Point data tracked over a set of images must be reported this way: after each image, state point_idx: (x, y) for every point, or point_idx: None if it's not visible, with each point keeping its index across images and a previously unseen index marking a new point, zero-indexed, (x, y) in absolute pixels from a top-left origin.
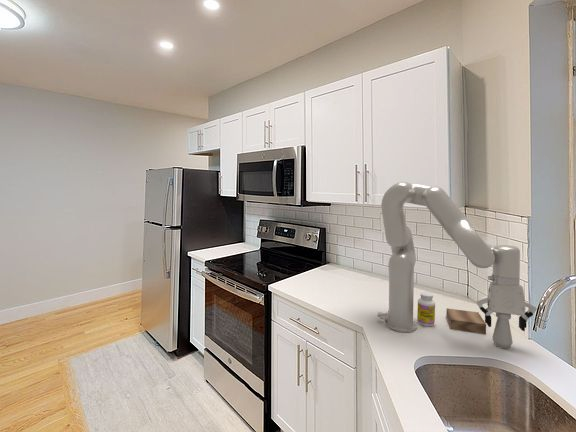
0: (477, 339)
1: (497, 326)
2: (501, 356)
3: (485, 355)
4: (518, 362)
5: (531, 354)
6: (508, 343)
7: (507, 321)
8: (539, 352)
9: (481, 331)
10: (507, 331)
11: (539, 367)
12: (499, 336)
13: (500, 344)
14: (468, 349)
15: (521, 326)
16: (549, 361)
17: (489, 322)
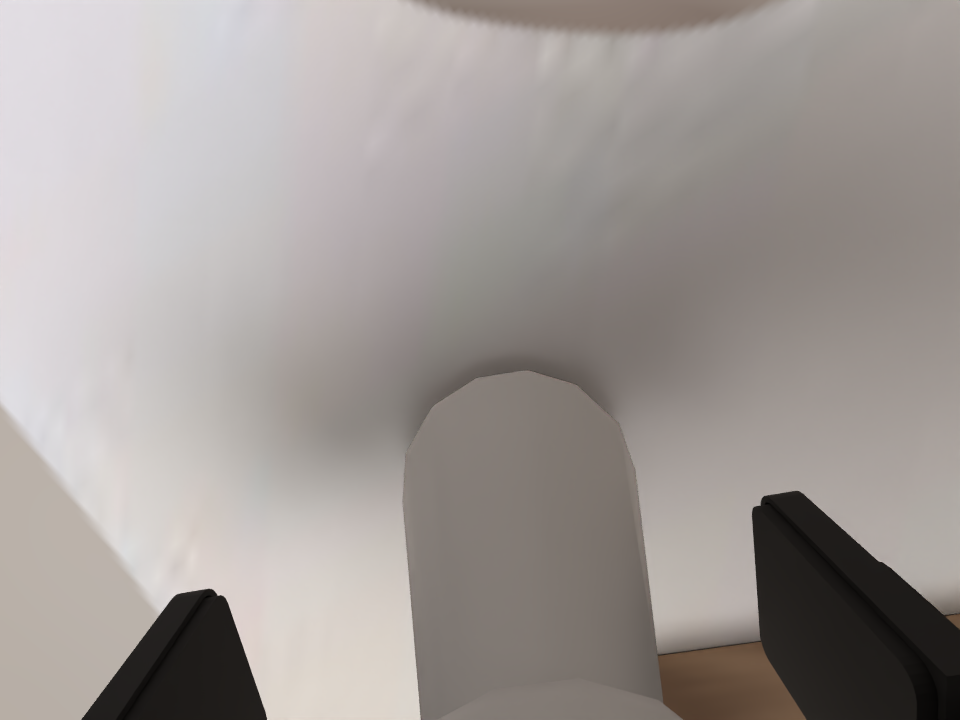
0: (760, 480)
1: (637, 558)
2: (552, 155)
3: (739, 66)
4: (381, 100)
5: (239, 403)
6: (457, 394)
7: (462, 679)
8: (164, 496)
9: (702, 671)
10: (466, 505)
11: (177, 104)
12: (575, 430)
13: (547, 376)
14: (928, 125)
15: (200, 672)
16: (82, 330)
17: (849, 541)
